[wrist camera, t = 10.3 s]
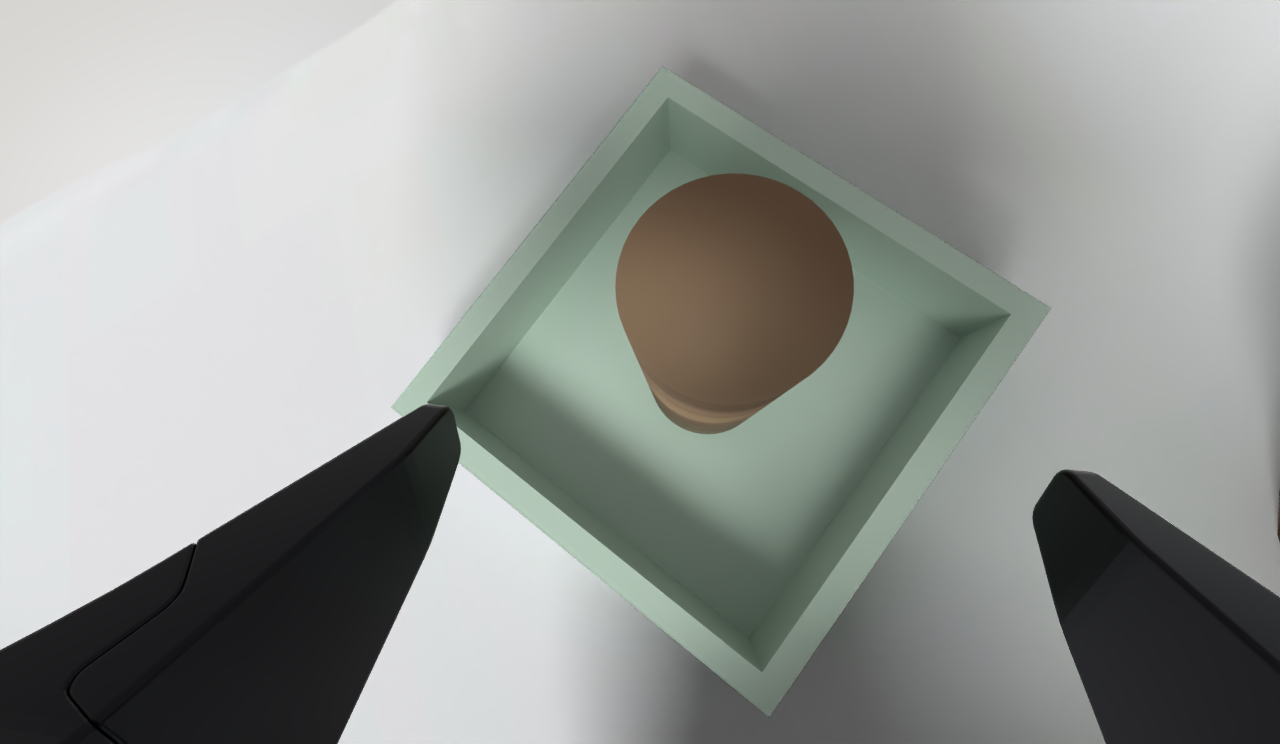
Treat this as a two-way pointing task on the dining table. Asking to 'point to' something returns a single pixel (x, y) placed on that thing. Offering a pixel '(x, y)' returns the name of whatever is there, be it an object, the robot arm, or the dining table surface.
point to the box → (754, 450)
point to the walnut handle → (731, 296)
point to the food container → (1279, 519)
